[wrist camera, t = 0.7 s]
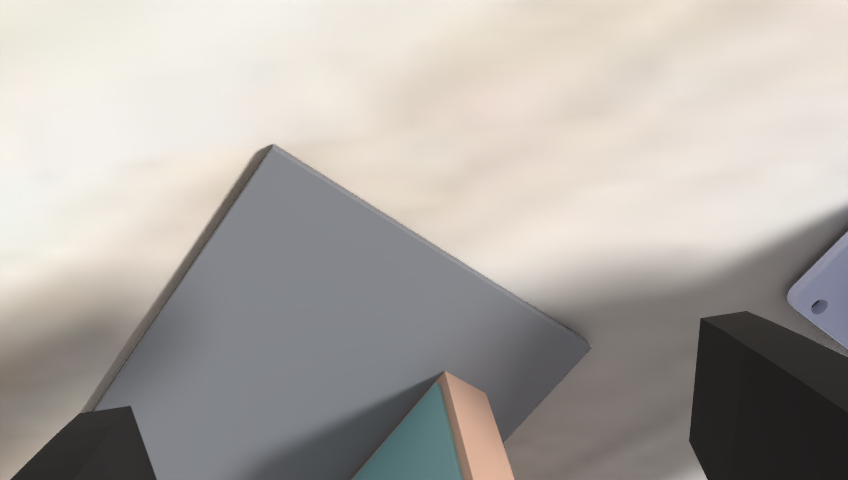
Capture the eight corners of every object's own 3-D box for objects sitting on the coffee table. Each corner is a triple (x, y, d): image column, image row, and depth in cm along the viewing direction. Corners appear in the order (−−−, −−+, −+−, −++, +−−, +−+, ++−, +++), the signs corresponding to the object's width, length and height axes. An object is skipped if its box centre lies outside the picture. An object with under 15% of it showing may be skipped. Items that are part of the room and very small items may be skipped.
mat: (586, 340, 21) (590, 347, 21) (345, 601, 25) (346, 611, 25) (273, 143, 17) (272, 148, 17) (41, 486, 21) (36, 496, 21)
